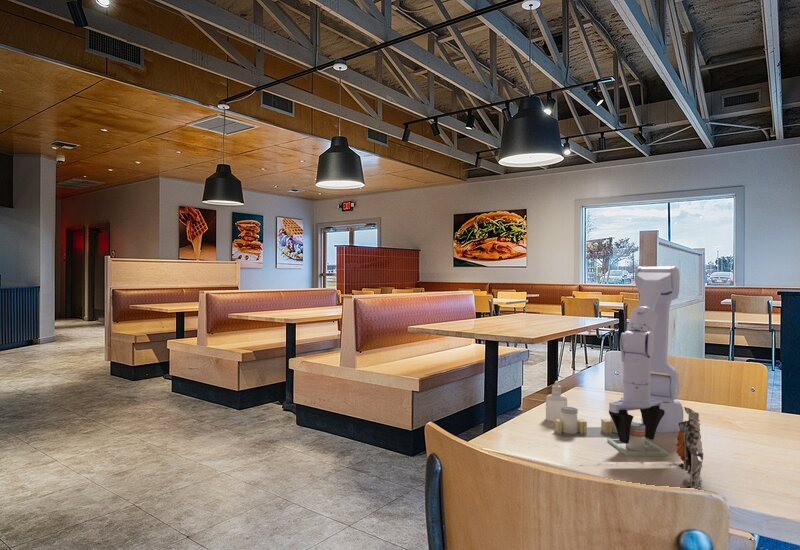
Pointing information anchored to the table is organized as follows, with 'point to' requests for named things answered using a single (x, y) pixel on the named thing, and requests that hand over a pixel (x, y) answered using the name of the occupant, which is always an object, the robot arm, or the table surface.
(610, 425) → the fuse holder
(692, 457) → the meal
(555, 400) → the eye dropper bottle
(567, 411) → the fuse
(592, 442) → the table surface
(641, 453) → the tray
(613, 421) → the fuse
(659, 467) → the table surface
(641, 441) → the cylinder
